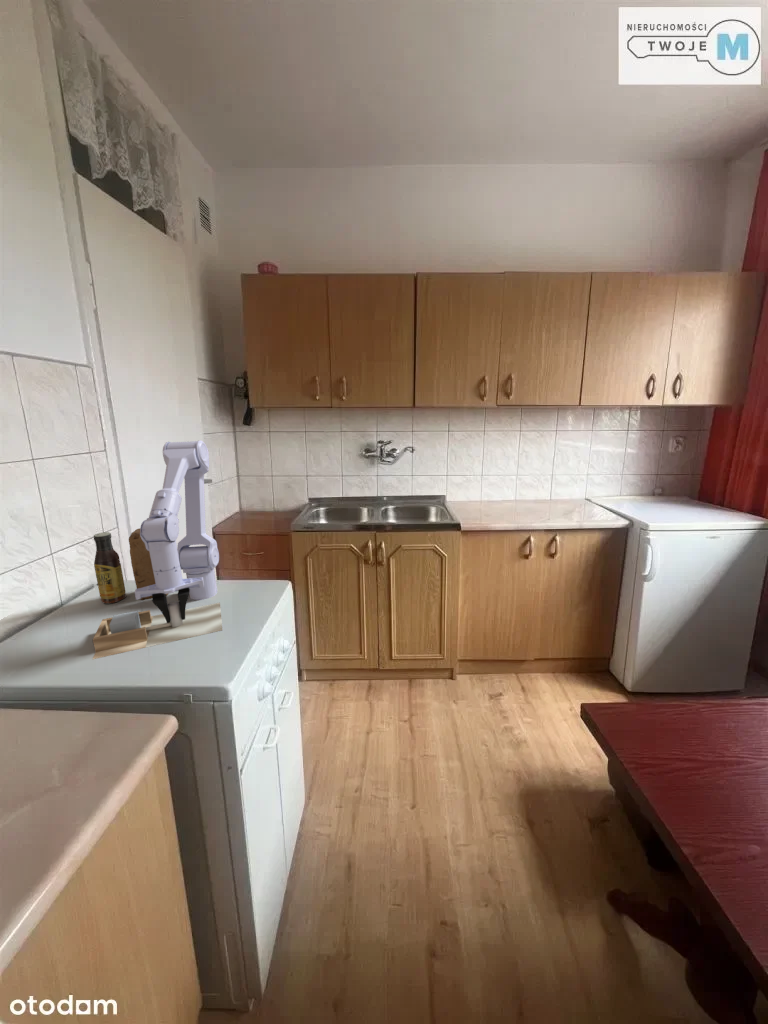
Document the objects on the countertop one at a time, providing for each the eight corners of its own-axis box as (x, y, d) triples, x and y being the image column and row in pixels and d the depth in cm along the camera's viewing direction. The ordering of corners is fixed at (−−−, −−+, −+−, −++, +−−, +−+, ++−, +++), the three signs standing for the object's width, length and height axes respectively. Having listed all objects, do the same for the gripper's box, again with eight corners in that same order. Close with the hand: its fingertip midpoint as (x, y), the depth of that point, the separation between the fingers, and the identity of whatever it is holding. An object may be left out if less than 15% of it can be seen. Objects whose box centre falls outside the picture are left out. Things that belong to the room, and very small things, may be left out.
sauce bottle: (96, 603, 119) (80, 536, 114) (115, 594, 125) (101, 530, 120) (114, 605, 117) (99, 538, 113) (132, 596, 123) (119, 531, 118)
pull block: (117, 632, 100) (112, 611, 99) (183, 618, 105) (179, 598, 104) (113, 642, 95) (108, 620, 94) (182, 628, 101) (178, 607, 99)
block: (166, 600, 119) (153, 533, 114) (137, 604, 118) (122, 536, 113) (174, 585, 129) (163, 522, 124) (148, 589, 128) (135, 525, 123)
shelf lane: (108, 630, 104) (105, 613, 103) (220, 607, 114) (218, 592, 112) (93, 665, 90) (89, 646, 89) (223, 635, 99) (220, 618, 98)
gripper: (128, 578, 92) (140, 634, 96) (199, 566, 98) (208, 619, 101) (133, 568, 99) (144, 620, 102) (200, 557, 104) (208, 607, 107)
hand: (176, 619), depth 102 cm, fingers closed on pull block, 3 cm apart
